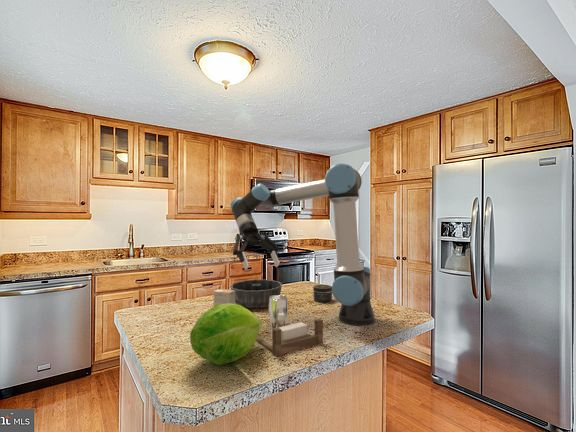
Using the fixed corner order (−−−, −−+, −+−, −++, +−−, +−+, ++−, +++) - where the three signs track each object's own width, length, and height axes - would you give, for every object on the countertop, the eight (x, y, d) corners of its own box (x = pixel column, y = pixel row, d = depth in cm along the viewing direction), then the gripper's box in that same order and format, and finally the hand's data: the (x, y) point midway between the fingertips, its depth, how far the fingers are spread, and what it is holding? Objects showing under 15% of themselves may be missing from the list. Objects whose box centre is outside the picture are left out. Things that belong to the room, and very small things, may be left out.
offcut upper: (277, 336, 104) (277, 327, 104) (300, 330, 110) (300, 322, 110) (283, 340, 101) (283, 331, 101) (307, 333, 107) (307, 324, 107)
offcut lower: (274, 346, 104) (274, 337, 104) (303, 338, 111) (303, 330, 111) (280, 350, 101) (280, 341, 101) (310, 342, 107) (310, 333, 107)
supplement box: (236, 320, 133) (236, 290, 133) (229, 324, 129) (229, 292, 129) (220, 318, 137) (220, 288, 137) (213, 321, 132) (213, 290, 132)
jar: (333, 303, 160) (333, 288, 160) (313, 303, 161) (313, 288, 161) (331, 298, 170) (331, 284, 170) (312, 298, 171) (312, 284, 171)
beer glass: (285, 343, 110) (285, 300, 110) (266, 341, 111) (266, 299, 111) (289, 335, 116) (289, 295, 116) (271, 334, 118) (271, 294, 118)
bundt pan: (241, 315, 142) (241, 292, 142) (223, 301, 165) (223, 282, 165) (291, 306, 155) (291, 286, 155) (268, 295, 178) (268, 277, 178)
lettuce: (279, 357, 99) (279, 302, 99) (207, 386, 82) (207, 320, 82) (245, 340, 112) (245, 292, 112) (177, 362, 95) (177, 306, 95)
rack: (246, 337, 115) (246, 312, 115) (289, 328, 125) (289, 305, 125) (275, 359, 97) (275, 330, 97) (322, 346, 107) (322, 320, 107)
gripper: (269, 232, 145) (286, 269, 132) (217, 233, 131) (230, 275, 119) (275, 220, 140) (293, 258, 128) (221, 220, 127) (236, 262, 114)
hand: (263, 266), depth 123 cm, fingers open, 13 cm apart
